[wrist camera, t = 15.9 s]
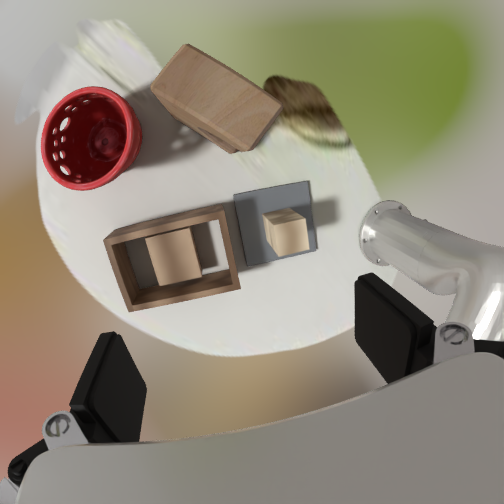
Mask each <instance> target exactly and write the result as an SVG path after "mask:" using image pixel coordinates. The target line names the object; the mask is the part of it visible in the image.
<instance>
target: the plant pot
mask: <svg viewBox="0 0 504 504" xmlns="http://www.w3.org/2000/svg"><path fill="white" fill-rule="evenodd" d="M85 100H88V101H86V102H83V101H85ZM68 106H69V107H68ZM67 107H68V108H67ZM75 107H76V108H75ZM66 108H67V109H66ZM73 108H75V109H74V110H73V111H72V109H73ZM65 109H66V110H65ZM67 117H68V122H67V125H66V127H65V128H64V129H63V130H62V131H60V125H61V123H62V121H63V120H64V119H65V118H67ZM54 128H55V131H54V133H53V130H54ZM62 136H63V142H61V138H62ZM54 141H55V146H54ZM141 144H142V129H141V126H140V123H139V120H138V119H137V117H136V115H135V112H134V110H133V109H132V107H131V106H130V105H129V103H128V102H127V101H126V100H125V99H124V98H122V97H121V96H120V95H118V94H117V93H115V92H113V91H112V90H109V89H107V88H103V87H93V86H92V87H85V88H81V89H78V90H75V91H73V92H72V93H70V94H68V95H67V96H65V97H64V98H63V99H62V100H61V101H60V102H59V103H58V104H57V105H56V106H55V107H54V108H53V110H52V111H51V113H50V114H49V116H48V118H47V120H46V122H45V125H44V128H43V132H42V138H41V153H42V158H43V162H44V165H45V167H46V169H47V171H48V172H49V174H50V175H51V176H52V178H53V179H54V180H55V181H57V182H58V183H59V184H61V185H62V186H64V187H66V188H69V189H73V190H81V191H84V190H92V189H95V188H98V187H101V186H103V185H105V184H107V183H109V182H111V181H113V180H114V179H116V178H117V177H118V176H119V175H120V174H122V173H123V172H124V171H125V170H126V169H127V168H128V167H129V166H130V165H131V164H132V163H133V162H134V160H135V159H136V157H137V155H138V153H139V151H140V148H141ZM60 151H61V152H62V154H63V159H62V158H61V157H60ZM53 154H54V155H55V158H56V161H55V160H54V158H53ZM60 166H62V167H64V168H65V169H66V171H67V172H68V174H69V175H66V174H64V173H63V172H62V171H61V169H60Z"/></svg>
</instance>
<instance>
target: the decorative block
mask: <svg viewBox="0 0 504 504" xmlns="http://www.w3.org/2000/svg"><path fill="white" fill-rule="evenodd" d="M150 87H151V91H152V92H153V94H154V95H155V96H156V97H157V98H158V100H159V101H160V102H161V103H162V104H163V105H164V107H165V108H166V109H167V110H168V111H169V113H170V114H171V115H172V116H173V117H174V118H175V119H176V120H178V121H180V122H181V123H183V124H184V125H186V126H188V127H189V128H191V129H192V130H194V131H196V132H197V133H199V134H200V135H202V136H203V137H205V138H207V139H208V140H210V141H211V142H213V143H214V144H216V145H217V146H219V147H220V148H222V149H223V150H225V151H226V152H228V153H229V154H231V153H236V152H237V150H239V151H241V152H245V151H251V150H253V149H254V148H255V146H256V145H257V144H258V142H259V141H260V139H261V138H262V137H263V135H264V134H265V133H266V131H267V130H268V129H269V127H270V126H271V125H272V123H273V122H274V121H275V119H276V118H277V117H278V115H279V114H280V113H281V111H282V110H283V103H281V102H280V101H279V100H277V99H276V98H274V97H273V96H272V95H270V94H269V93H267V92H266V91H264V90H263V89H262V88H260V87H258V86H257V85H255V84H254V83H253V82H251V81H249V80H248V79H247V78H245V77H244V76H242V75H241V74H239V73H238V72H236V71H234V70H233V69H231V68H229V67H228V66H226V65H225V64H223V63H221V62H220V61H218V60H216V59H214V58H213V57H211V56H209V55H208V54H206V53H204V52H202V51H201V50H199V49H197V48H195V47H193V46H192V45H190V44H185V45H182V47H181V48H180V49H179V50H178V51H177V52H176V54H175V55H174V56H173V57H172V58H171V60H170V61H169V62H168V63H167V65H166V66H165V67H164V68H163V70H162V71H161V72H160V73H159V75H158V76H157V77H156V79H155V80H154V81H153V83H152V84H151V85H150Z"/></svg>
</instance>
